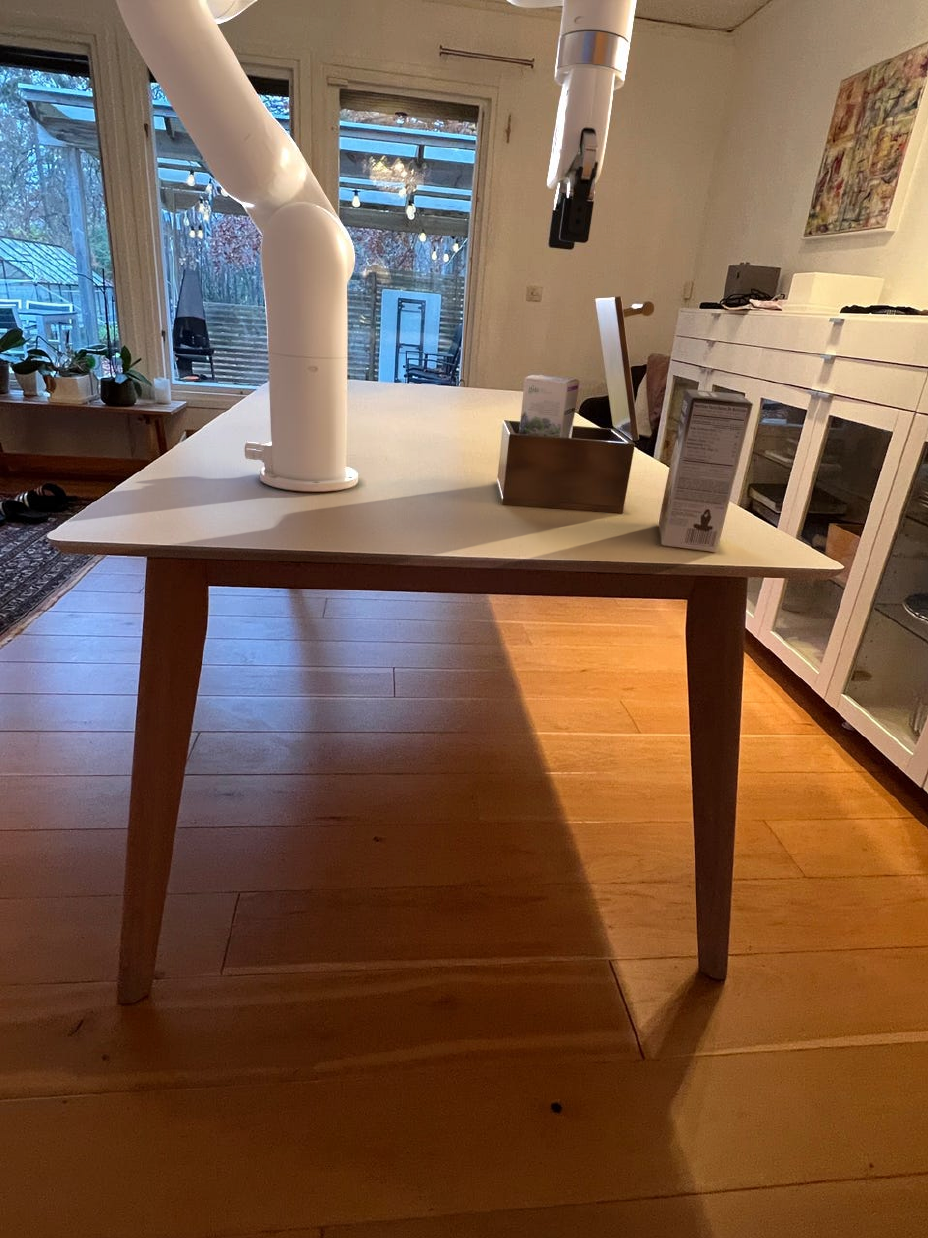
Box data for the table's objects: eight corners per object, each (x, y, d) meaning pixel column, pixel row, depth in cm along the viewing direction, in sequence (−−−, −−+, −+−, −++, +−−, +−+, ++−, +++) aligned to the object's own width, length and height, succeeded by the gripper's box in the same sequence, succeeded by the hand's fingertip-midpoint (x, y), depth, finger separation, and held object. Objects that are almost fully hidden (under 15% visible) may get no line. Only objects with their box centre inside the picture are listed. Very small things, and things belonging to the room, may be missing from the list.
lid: (614, 297, 78) (660, 286, 78) (595, 298, 89) (635, 288, 89) (632, 440, 85) (675, 431, 85) (612, 426, 96) (650, 417, 95)
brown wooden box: (502, 504, 88) (509, 433, 84) (496, 483, 99) (503, 419, 95) (622, 513, 89) (635, 443, 85) (604, 491, 99) (615, 428, 96)
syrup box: (565, 489, 95) (581, 378, 89) (552, 498, 90) (567, 380, 84) (526, 482, 97) (539, 373, 91) (511, 490, 92) (523, 375, 86)
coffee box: (656, 524, 85) (683, 387, 79) (709, 531, 84) (741, 393, 78) (660, 546, 77) (691, 395, 70) (719, 554, 76) (756, 402, 69)
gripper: (546, 84, 82) (527, 247, 89) (568, 31, 66) (543, 234, 73) (608, 92, 82) (585, 253, 89) (645, 41, 67) (613, 242, 74)
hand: (566, 244), depth 81 cm, fingers open, 9 cm apart
